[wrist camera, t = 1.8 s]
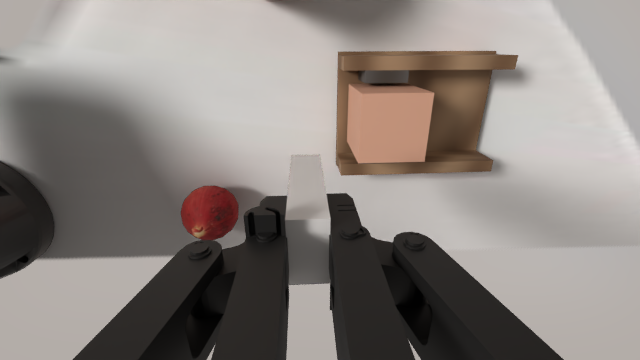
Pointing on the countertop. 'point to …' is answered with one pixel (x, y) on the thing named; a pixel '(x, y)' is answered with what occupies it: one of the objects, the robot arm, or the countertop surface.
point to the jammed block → (388, 122)
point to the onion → (209, 212)
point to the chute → (447, 111)
